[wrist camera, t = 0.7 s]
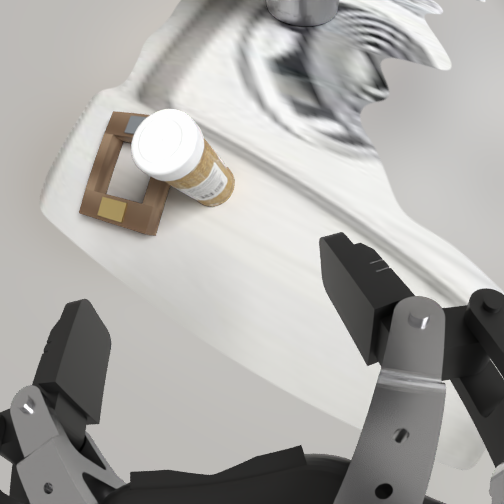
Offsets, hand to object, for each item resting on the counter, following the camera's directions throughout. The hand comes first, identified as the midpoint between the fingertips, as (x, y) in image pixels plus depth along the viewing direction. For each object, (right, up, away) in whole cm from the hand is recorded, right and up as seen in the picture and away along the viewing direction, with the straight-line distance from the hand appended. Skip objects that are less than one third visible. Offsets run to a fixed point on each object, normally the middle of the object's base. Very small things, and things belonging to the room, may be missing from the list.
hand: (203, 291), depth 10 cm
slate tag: (-10, +14, +19) cm, 26 cm away
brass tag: (-13, +6, +20) cm, 24 cm away
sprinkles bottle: (-2, +8, +21) cm, 23 cm away
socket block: (-11, +10, +22) cm, 27 cm away
